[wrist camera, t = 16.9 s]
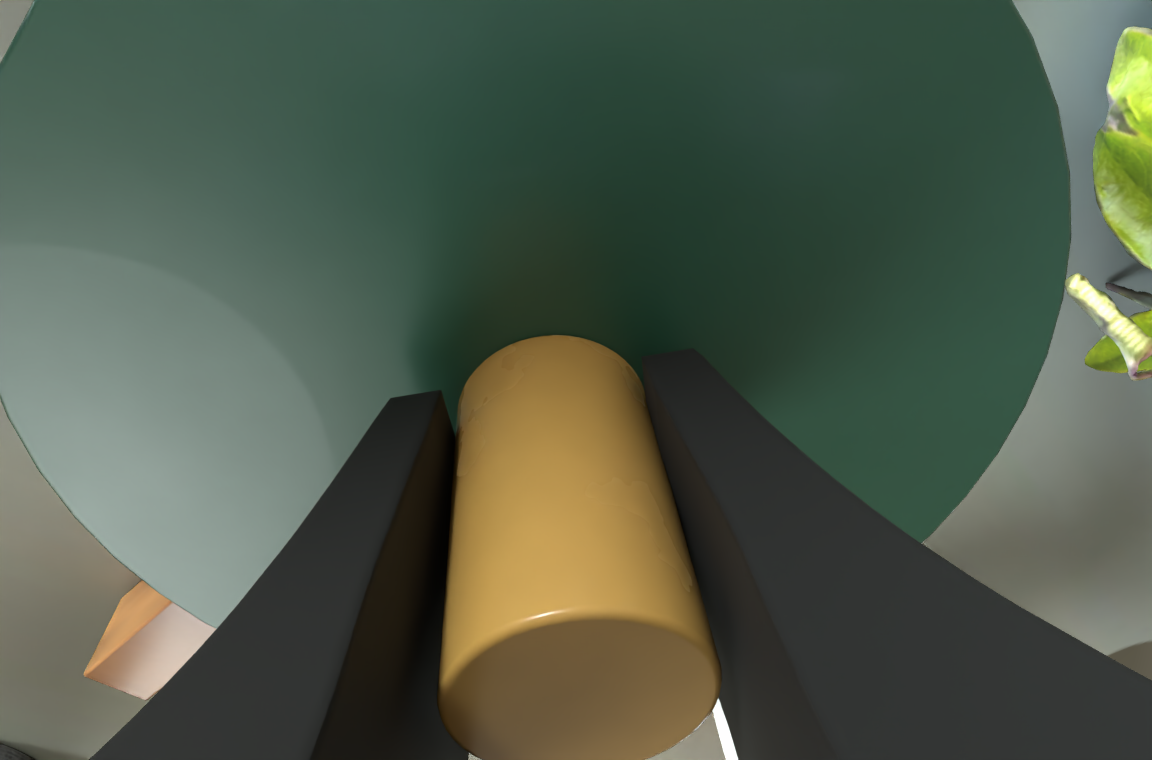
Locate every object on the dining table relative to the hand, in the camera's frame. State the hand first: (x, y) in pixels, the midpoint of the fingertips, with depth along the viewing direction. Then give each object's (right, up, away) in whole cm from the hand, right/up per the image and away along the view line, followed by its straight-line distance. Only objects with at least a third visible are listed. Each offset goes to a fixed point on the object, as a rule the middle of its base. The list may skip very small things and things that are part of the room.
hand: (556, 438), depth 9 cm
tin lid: (0, +1, +1) cm, 1 cm away
